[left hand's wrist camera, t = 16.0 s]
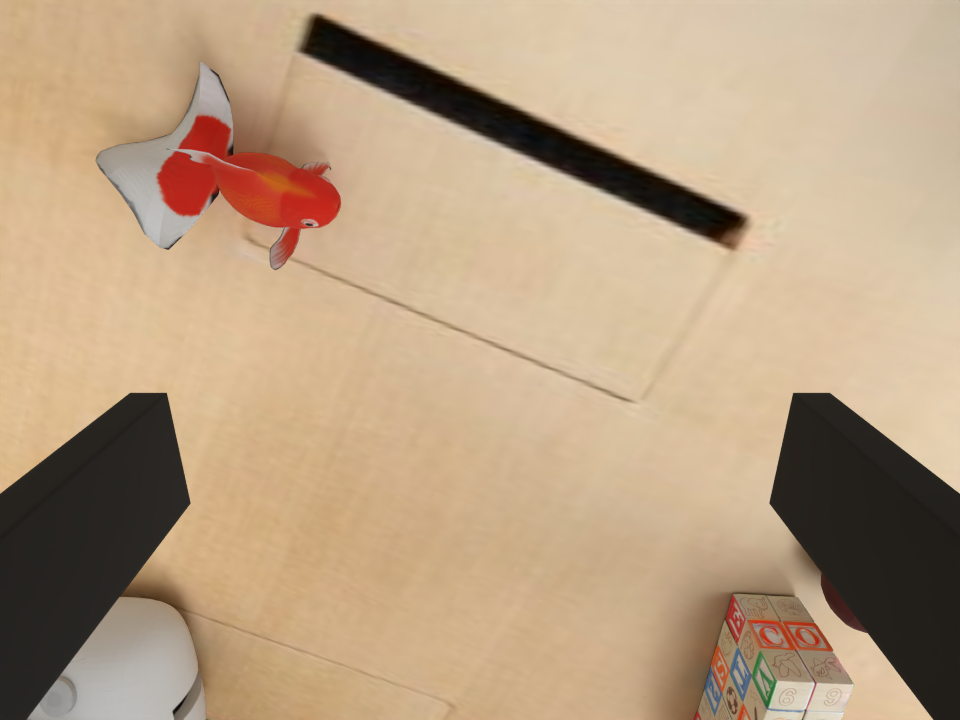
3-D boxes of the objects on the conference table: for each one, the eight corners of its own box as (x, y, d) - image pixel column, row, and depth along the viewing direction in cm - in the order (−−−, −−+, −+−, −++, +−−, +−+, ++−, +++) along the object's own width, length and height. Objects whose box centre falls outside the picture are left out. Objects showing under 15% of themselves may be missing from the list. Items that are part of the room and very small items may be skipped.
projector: (53, 503, 50) (-105, 645, 37) (276, 641, 56) (211, 808, 42) (-59, 648, 56) (-231, 816, 43) (153, 759, 62) (61, 938, 48)
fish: (299, 337, 40) (203, 301, 30) (143, 222, 43) (13, 157, 34) (391, 205, 40) (325, 126, 30) (227, 102, 44) (122, 2, 34)
